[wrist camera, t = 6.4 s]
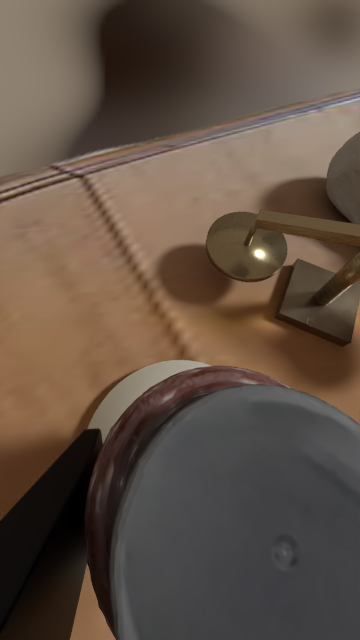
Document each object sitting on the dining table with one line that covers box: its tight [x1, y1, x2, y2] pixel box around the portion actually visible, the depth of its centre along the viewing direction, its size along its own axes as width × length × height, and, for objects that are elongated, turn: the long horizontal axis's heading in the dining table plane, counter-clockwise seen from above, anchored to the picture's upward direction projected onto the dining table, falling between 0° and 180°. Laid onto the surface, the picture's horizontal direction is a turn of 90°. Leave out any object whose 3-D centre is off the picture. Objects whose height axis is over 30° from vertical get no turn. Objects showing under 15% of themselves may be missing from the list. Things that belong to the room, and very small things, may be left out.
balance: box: [206, 209, 360, 346], centre depth 20 cm, size 6×22×11 cm, turn 66°
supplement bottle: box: [84, 366, 360, 640], centre depth 8 cm, size 6×6×11 cm
